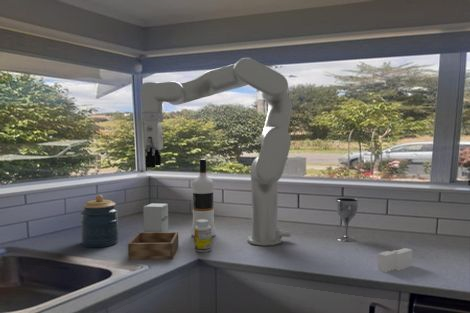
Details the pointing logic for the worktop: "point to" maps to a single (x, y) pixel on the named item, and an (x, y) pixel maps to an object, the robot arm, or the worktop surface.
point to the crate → (153, 245)
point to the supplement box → (155, 217)
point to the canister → (99, 223)
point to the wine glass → (346, 214)
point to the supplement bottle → (202, 236)
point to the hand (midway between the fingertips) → (153, 166)
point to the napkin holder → (395, 260)
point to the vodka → (203, 199)
